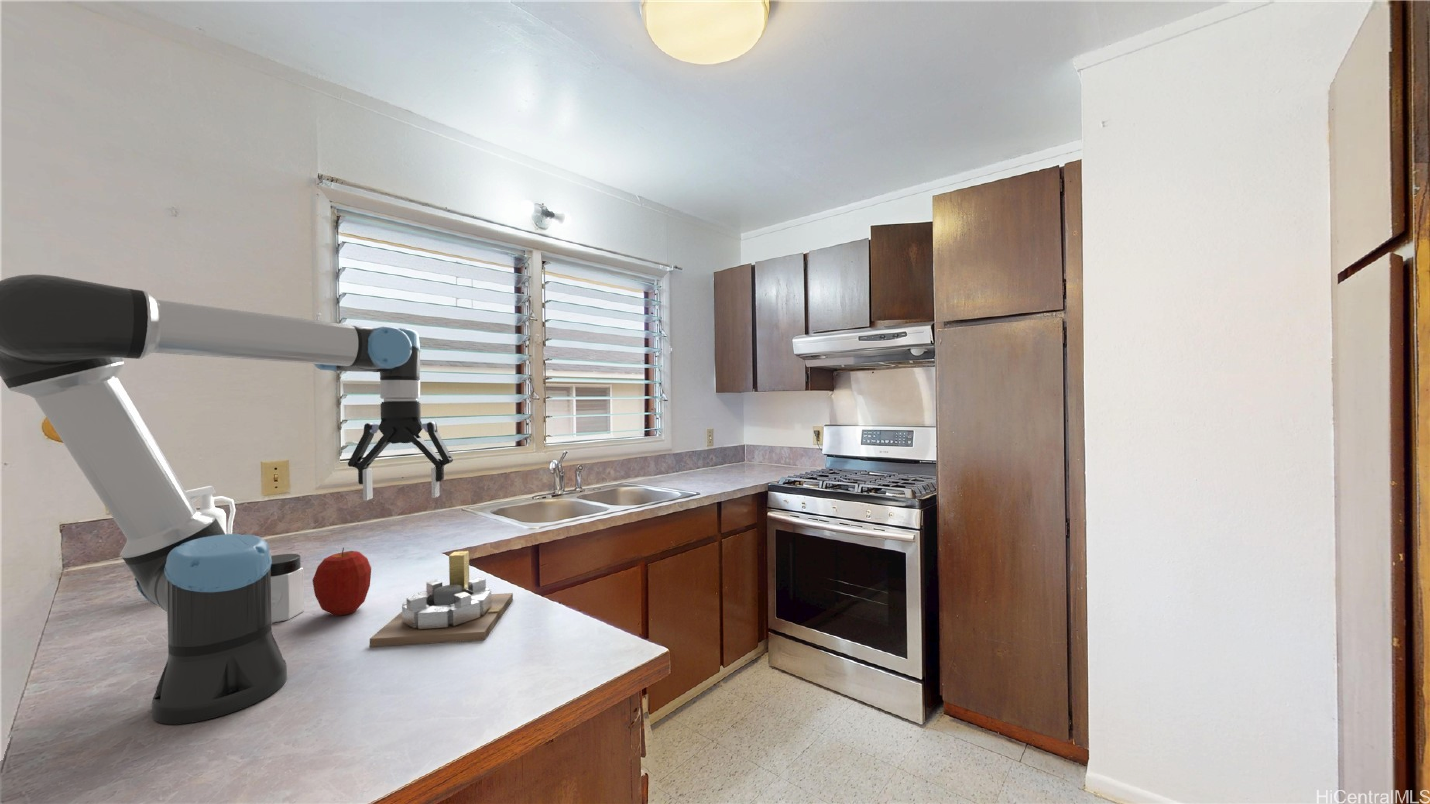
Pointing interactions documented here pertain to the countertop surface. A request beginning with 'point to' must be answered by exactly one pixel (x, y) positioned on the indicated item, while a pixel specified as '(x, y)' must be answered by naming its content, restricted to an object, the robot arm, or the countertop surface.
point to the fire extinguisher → (209, 506)
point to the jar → (286, 587)
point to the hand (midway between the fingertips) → (402, 498)
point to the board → (466, 631)
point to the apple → (342, 582)
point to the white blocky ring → (465, 605)
